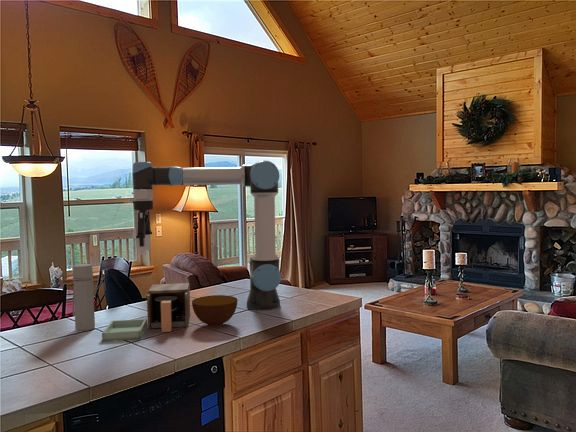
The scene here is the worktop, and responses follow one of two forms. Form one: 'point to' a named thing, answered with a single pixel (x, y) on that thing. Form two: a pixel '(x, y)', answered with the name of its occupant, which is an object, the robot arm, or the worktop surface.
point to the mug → (173, 306)
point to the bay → (168, 290)
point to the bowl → (214, 309)
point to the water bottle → (83, 297)
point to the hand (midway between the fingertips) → (145, 252)
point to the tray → (124, 330)
